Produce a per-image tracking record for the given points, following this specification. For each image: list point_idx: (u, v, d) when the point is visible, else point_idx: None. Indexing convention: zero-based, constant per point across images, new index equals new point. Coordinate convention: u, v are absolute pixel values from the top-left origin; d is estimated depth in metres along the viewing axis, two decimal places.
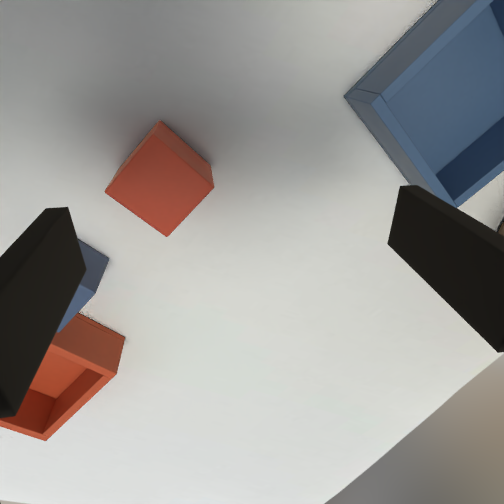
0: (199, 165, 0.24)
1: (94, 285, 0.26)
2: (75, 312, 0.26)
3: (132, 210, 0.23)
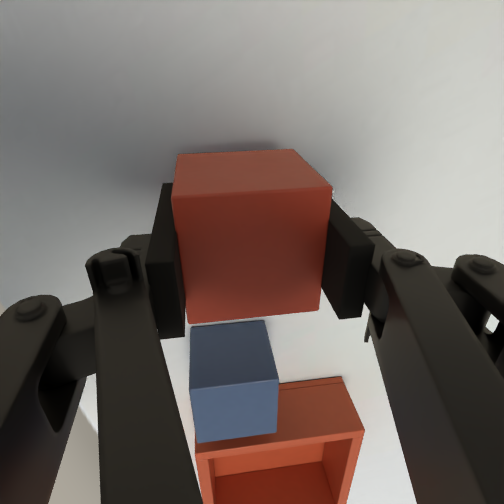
0: (279, 169, 0.12)
1: (271, 369, 0.20)
2: (275, 407, 0.20)
3: (243, 316, 0.13)
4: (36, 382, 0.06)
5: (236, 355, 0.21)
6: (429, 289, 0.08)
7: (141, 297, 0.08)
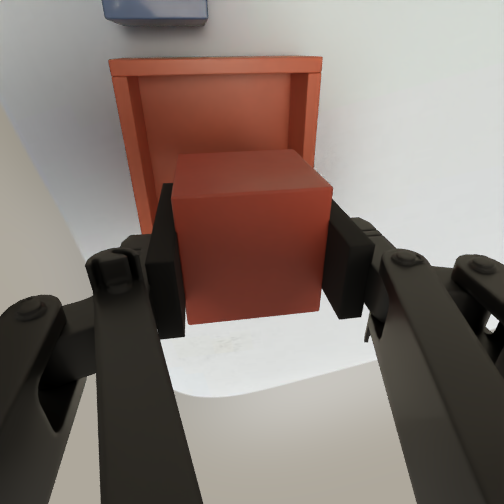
0: (279, 169, 0.12)
1: None
2: None
3: (243, 317, 0.13)
4: (36, 382, 0.06)
5: None
6: (429, 289, 0.08)
7: (141, 297, 0.08)
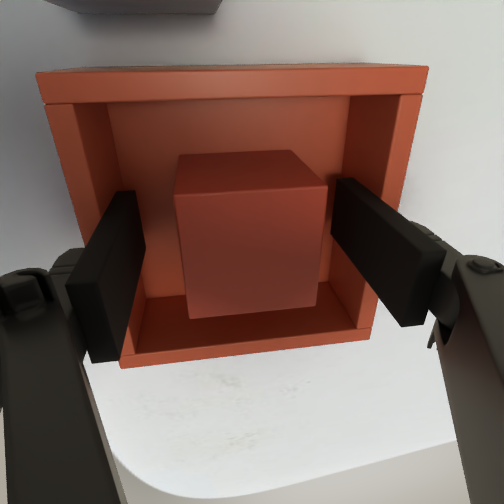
0: (276, 169, 0.13)
1: None
2: None
3: (242, 311, 0.13)
4: None
5: None
6: None
7: (57, 320, 0.07)
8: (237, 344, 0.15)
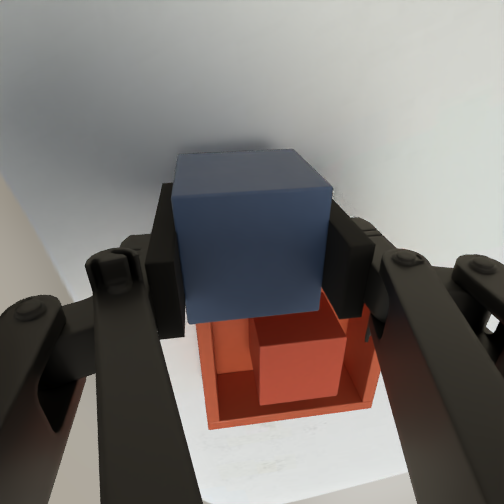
0: (314, 315, 0.21)
1: (317, 179, 0.11)
2: (321, 255, 0.12)
3: (292, 400, 0.21)
4: (35, 382, 0.06)
5: (253, 170, 0.12)
6: (429, 289, 0.08)
7: (141, 297, 0.08)
8: (284, 413, 0.24)
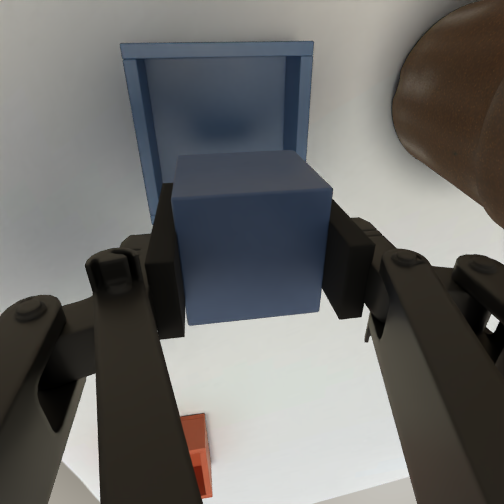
0: None
1: (317, 181, 0.11)
2: (322, 256, 0.12)
3: None
4: (36, 382, 0.06)
5: (253, 172, 0.12)
6: (429, 289, 0.08)
7: (141, 297, 0.08)
8: None
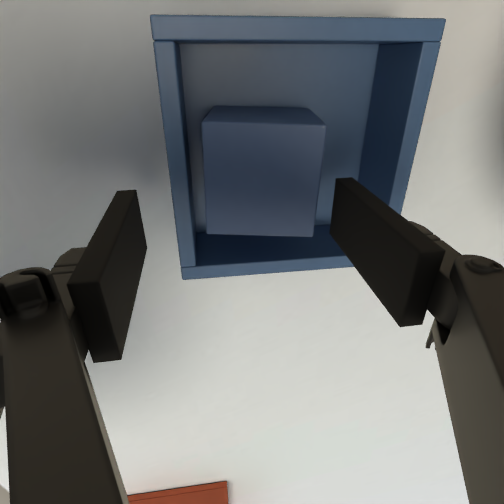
0: None
1: (317, 121, 0.14)
2: (316, 184, 0.15)
3: None
4: None
5: (269, 115, 0.15)
6: None
7: (59, 319, 0.07)
8: None
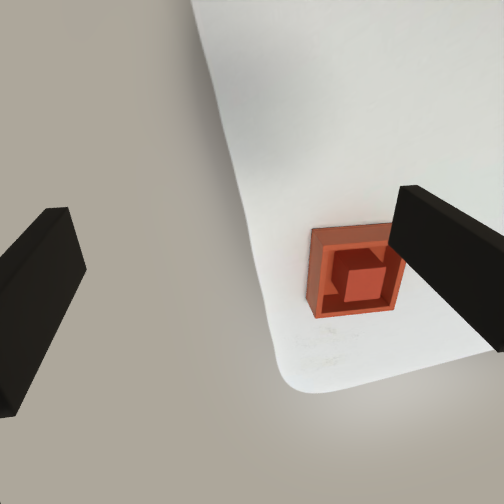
0: (369, 259, 0.45)
1: None
2: None
3: (358, 299, 0.45)
4: None
5: None
6: None
7: None
8: (351, 311, 0.48)
